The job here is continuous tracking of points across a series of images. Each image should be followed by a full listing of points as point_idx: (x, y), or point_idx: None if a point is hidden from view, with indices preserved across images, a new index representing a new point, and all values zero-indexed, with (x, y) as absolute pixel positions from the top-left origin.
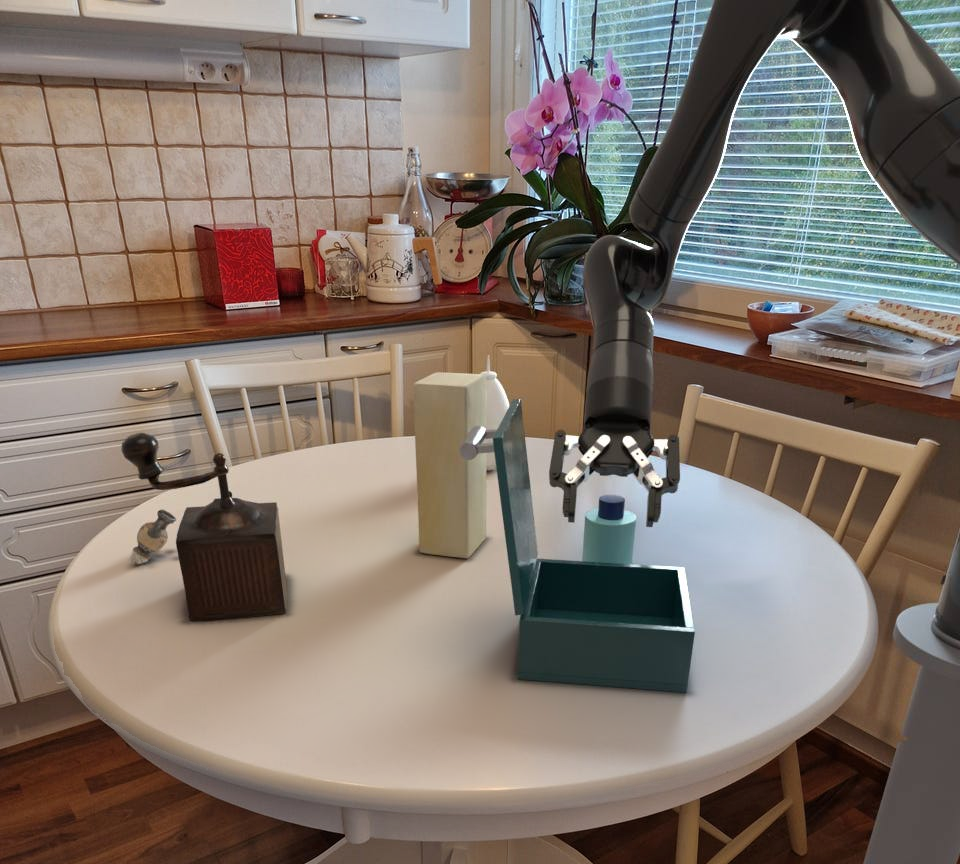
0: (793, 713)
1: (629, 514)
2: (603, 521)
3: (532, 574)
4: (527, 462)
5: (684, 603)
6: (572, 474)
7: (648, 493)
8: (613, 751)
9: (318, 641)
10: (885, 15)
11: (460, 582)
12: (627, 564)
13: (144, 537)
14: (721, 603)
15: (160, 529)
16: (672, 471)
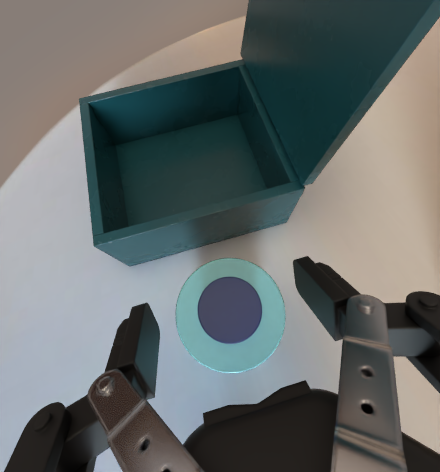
0: (31, 153)
1: (194, 338)
2: (233, 272)
3: (273, 121)
4: (420, 7)
5: (90, 146)
6: (370, 318)
7: (143, 375)
8: (151, 74)
9: (424, 98)
10: None
11: (407, 259)
12: (174, 221)
13: None
14: (79, 343)
15: None
16: (37, 452)
